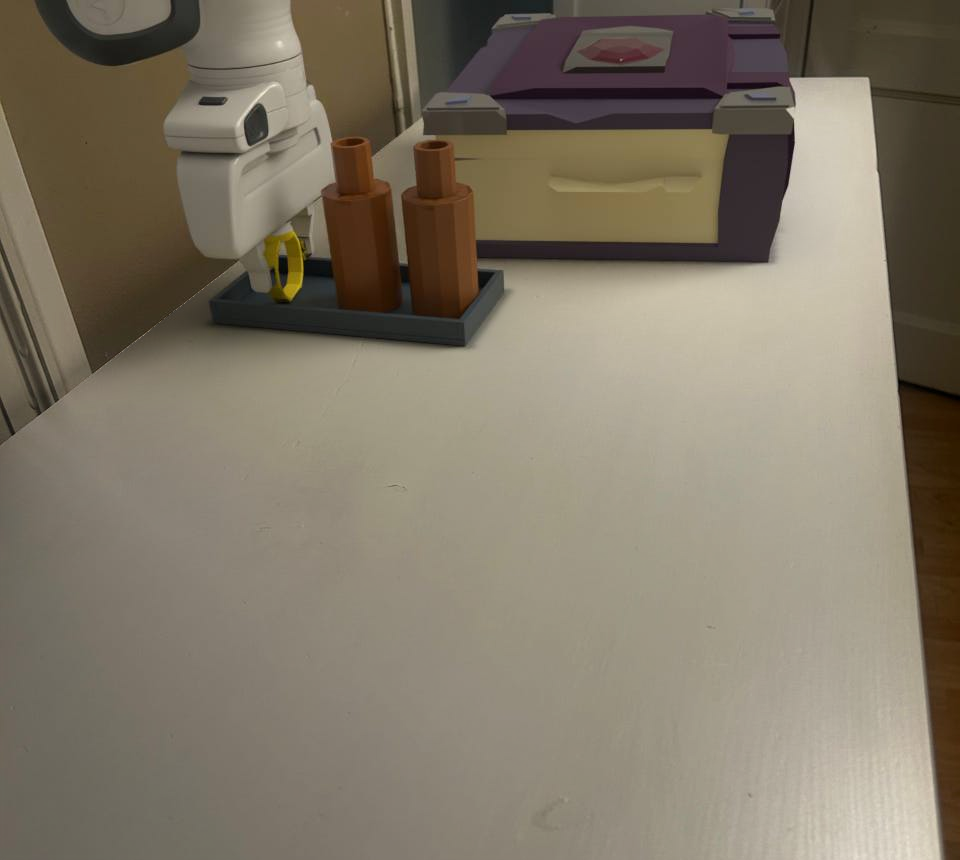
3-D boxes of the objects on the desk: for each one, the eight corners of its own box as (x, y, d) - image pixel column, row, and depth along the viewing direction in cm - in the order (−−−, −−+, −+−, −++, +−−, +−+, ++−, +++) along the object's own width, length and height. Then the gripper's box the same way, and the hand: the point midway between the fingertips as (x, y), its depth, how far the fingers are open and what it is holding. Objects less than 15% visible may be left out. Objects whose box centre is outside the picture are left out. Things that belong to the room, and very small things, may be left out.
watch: (286, 282, 90) (274, 215, 86) (314, 283, 90) (304, 216, 86) (261, 309, 86) (248, 239, 82) (291, 310, 85) (279, 241, 81)
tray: (213, 323, 85) (208, 300, 84) (271, 274, 93) (267, 253, 92) (465, 346, 79) (464, 322, 78) (504, 292, 87) (503, 269, 86)
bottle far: (404, 325, 83) (386, 154, 74) (426, 299, 87) (412, 133, 78) (466, 331, 81) (456, 157, 73) (486, 304, 85) (478, 135, 76)
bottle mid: (329, 319, 85) (302, 151, 76) (354, 293, 89) (332, 131, 80) (389, 324, 83) (369, 153, 74) (412, 298, 87) (395, 133, 78)
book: (768, 129, 121) (786, -5, 112) (789, 266, 88) (817, 93, 79) (503, 130, 127) (500, 3, 117) (430, 260, 94) (416, 97, 84)
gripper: (275, 67, 85) (302, 230, 94) (149, 132, 71) (195, 316, 80) (341, 68, 84) (362, 233, 93) (226, 135, 69) (264, 323, 78)
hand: (284, 273), depth 86 cm, fingers closed on watch, 6 cm apart
